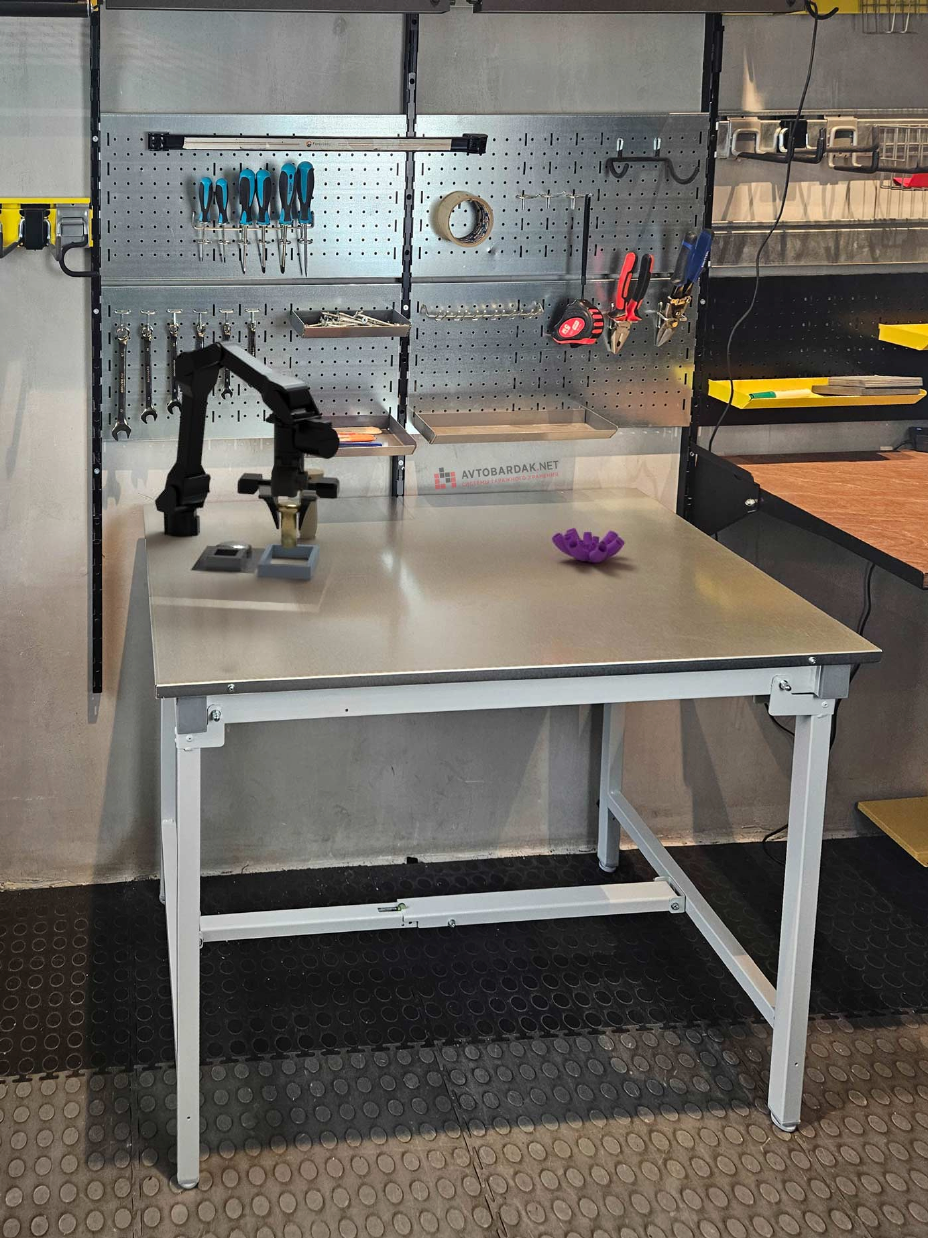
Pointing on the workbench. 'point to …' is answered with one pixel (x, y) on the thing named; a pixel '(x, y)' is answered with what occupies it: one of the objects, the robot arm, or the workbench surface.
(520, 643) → the workbench surface
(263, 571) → the pin tray
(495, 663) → the workbench surface
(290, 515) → the pin
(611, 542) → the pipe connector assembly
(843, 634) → the workbench surface
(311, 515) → the handle
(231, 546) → the grey socket base
